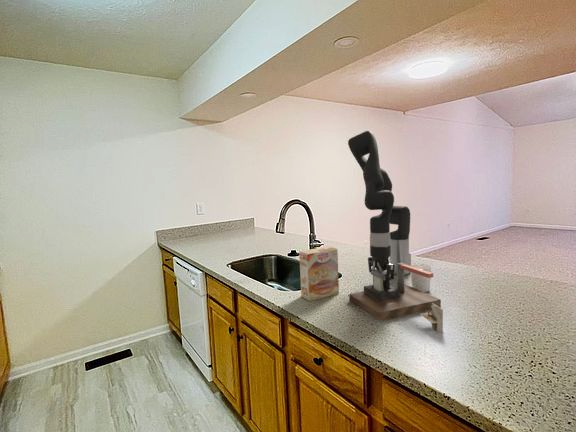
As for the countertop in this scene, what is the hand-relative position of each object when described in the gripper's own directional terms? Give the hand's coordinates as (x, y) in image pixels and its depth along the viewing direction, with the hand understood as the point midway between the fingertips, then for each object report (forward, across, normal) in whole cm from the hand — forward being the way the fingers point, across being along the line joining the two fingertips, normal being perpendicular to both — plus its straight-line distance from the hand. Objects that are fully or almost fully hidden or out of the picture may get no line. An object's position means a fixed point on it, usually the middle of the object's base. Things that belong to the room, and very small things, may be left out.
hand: (381, 286), depth 125 cm
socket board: (+6, +3, +3) cm, 8 cm away
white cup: (+7, -5, +23) cm, 24 cm away
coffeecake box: (+7, -19, -17) cm, 26 cm away
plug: (+3, 0, 0) cm, 3 cm away
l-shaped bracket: (+3, +7, +9) cm, 12 cm away
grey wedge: (+7, +24, +2) cm, 26 cm away
